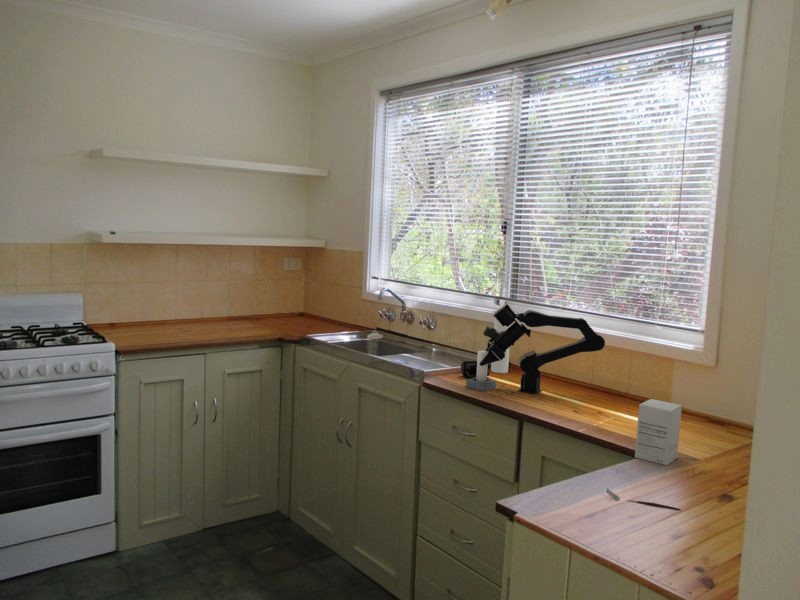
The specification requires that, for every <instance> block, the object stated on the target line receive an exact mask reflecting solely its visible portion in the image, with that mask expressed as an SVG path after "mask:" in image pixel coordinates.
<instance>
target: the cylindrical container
mask: <svg viewBox="0 0 800 600" xmlns="http://www.w3.org/2000/svg"><path fill="white" fill-rule="evenodd" d="M493 319H494V321H493V328H494V329H496V331H498V332H500V333H501V332H502V331H505V330H507V329H508V328H509V327H510V326H511V325H512V324H511V325H509V326H508V327H507V326H502V325H501V324H500V323H499V321H498V320H497V319H496V318H495V317H494V316H493ZM510 347H511V346H510ZM510 347H509V348H508V349H507V350H506V352H505V358H503V359H502V360H500V361H496V362H493V363H490V364H491V366H490V371H491V372H493V373H497V374H506V373H507V374H508V373H509V362H510V361H509V360H510Z"/></svg>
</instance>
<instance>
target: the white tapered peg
mask: <svg viewBox="0 0 800 600" xmlns="http://www.w3.org/2000/svg"><path fill="white" fill-rule="evenodd" d="M487 354H488V351H485V350H477V358H476V359H477V360H476V361H477V373H476V381H478V382H487V377H488V376H487V371H488V364H486V365H483V366H480V364H479V363H480V362H481V361H482V360H483V359H484V357H485V356H486V355H487Z"/></svg>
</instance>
